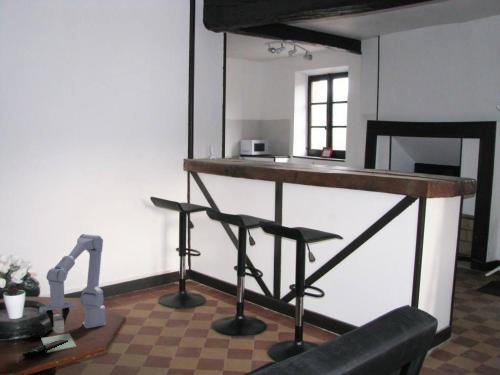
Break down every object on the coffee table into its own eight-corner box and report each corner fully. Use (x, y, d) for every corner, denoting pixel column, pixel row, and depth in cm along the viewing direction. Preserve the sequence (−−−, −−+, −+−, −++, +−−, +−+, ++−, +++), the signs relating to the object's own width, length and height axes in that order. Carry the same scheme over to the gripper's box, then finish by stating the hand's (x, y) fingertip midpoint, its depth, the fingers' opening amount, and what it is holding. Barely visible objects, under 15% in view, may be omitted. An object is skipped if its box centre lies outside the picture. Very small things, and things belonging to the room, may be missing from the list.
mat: (69, 334, 232) (69, 333, 232) (76, 347, 218) (76, 346, 218) (41, 339, 226) (41, 338, 226) (46, 352, 212) (46, 351, 212)
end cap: (45, 338, 228) (45, 323, 227) (31, 336, 229) (30, 322, 228) (57, 329, 237) (57, 315, 237) (43, 328, 238) (43, 314, 238)
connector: (61, 324, 226) (60, 313, 226) (66, 334, 216) (65, 323, 215) (51, 326, 224) (51, 315, 224) (56, 336, 214) (56, 324, 213)
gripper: (40, 300, 213) (41, 331, 214) (76, 295, 220) (77, 325, 221) (38, 296, 219) (39, 326, 220) (73, 291, 226) (73, 320, 227)
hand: (58, 325), depth 221 cm, fingers closed on connector, 4 cm apart
